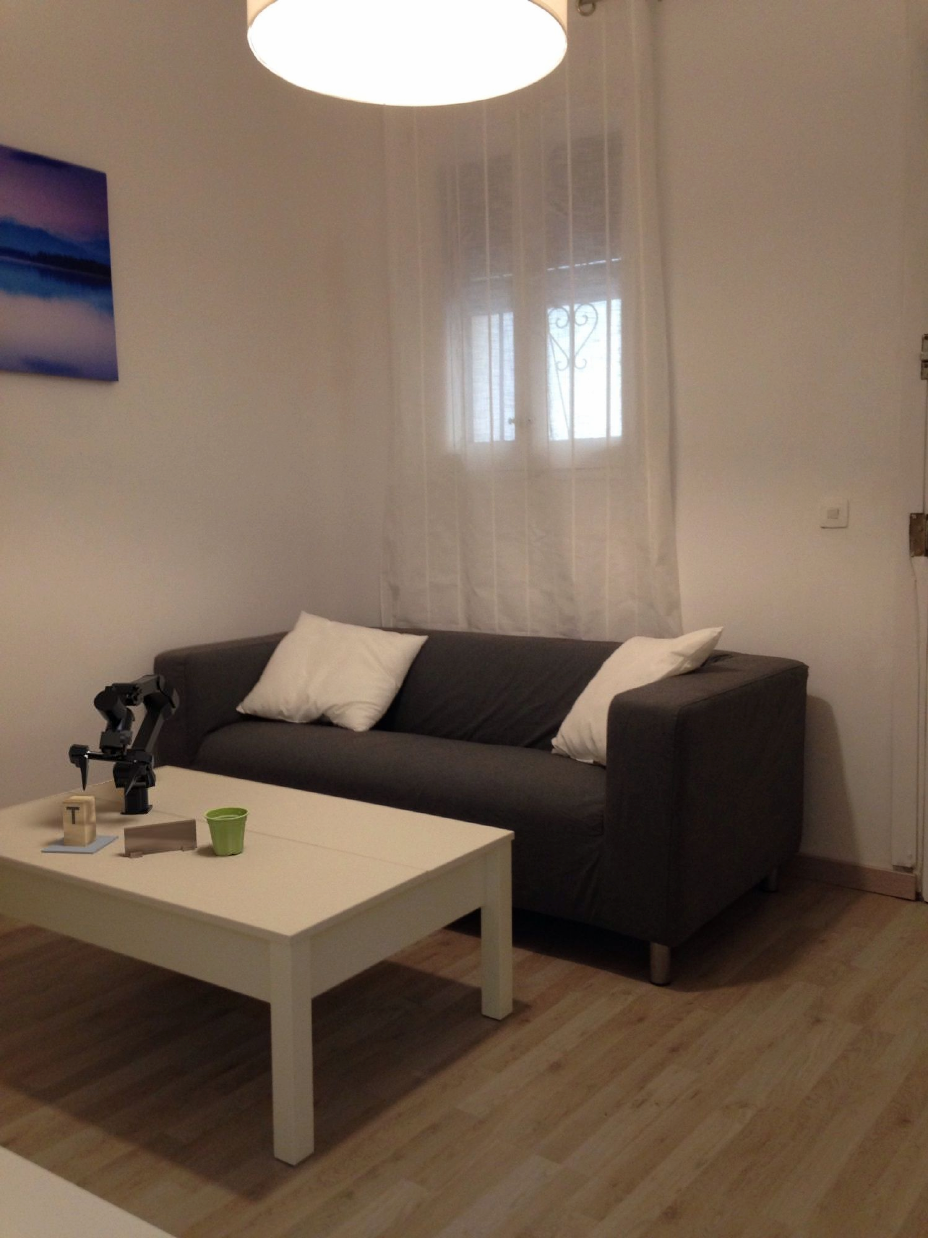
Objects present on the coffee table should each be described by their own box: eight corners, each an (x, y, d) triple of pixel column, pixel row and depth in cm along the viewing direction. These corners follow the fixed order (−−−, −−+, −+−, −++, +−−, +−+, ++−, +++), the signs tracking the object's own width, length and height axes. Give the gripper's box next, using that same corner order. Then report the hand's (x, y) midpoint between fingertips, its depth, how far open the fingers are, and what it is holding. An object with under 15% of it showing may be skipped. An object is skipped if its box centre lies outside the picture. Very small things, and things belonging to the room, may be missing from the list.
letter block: (75, 839, 251) (73, 795, 250) (96, 840, 250) (94, 796, 249) (64, 846, 246) (61, 801, 245) (85, 847, 245) (83, 802, 244)
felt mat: (69, 836, 255) (69, 834, 255) (118, 837, 253) (118, 836, 253) (41, 852, 243) (41, 850, 243) (93, 854, 241) (93, 852, 241)
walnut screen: (124, 853, 241) (123, 826, 240) (194, 844, 247) (193, 817, 247) (126, 858, 237) (125, 831, 237) (198, 849, 243) (196, 822, 243)
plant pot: (240, 859, 236) (238, 819, 235) (198, 857, 238) (197, 817, 237) (257, 846, 245) (255, 807, 244) (217, 844, 247) (215, 806, 246)
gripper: (73, 711, 256) (58, 774, 248) (156, 720, 259) (144, 783, 250) (78, 731, 265) (63, 793, 257) (158, 740, 268) (146, 801, 260)
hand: (104, 792), depth 256 cm, fingers open, 9 cm apart
